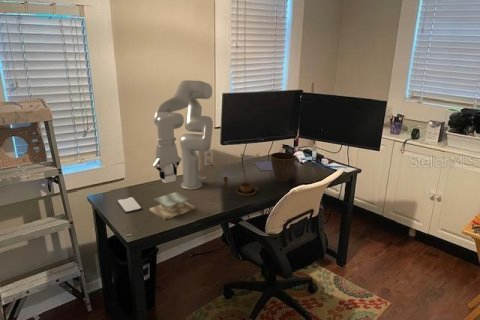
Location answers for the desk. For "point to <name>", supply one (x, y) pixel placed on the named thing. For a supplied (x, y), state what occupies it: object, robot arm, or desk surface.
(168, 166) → the white wedge bracket
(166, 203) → the stand
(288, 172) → the plant pot
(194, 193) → the desk surface
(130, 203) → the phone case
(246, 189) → the place setting
